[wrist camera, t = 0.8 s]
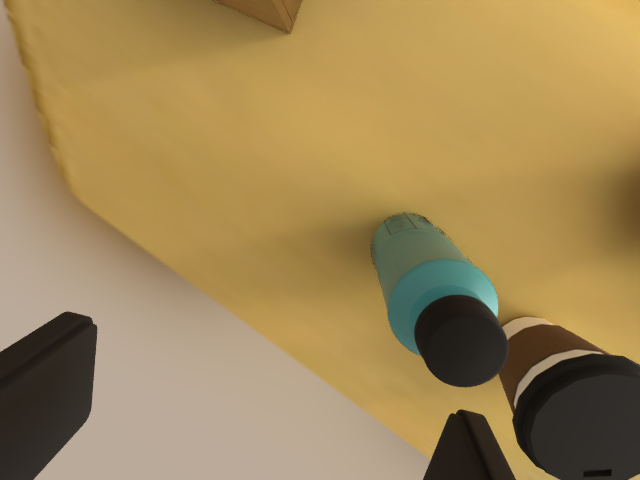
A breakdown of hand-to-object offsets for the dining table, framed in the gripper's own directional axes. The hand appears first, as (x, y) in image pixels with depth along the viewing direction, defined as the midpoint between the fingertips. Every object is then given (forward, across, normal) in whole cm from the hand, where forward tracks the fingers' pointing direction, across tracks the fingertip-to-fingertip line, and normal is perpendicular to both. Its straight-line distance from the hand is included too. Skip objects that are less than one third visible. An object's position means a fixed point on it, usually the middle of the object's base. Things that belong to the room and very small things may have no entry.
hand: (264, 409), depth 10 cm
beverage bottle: (+28, -8, +1) cm, 29 cm away
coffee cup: (+28, -23, +8) cm, 37 cm away
